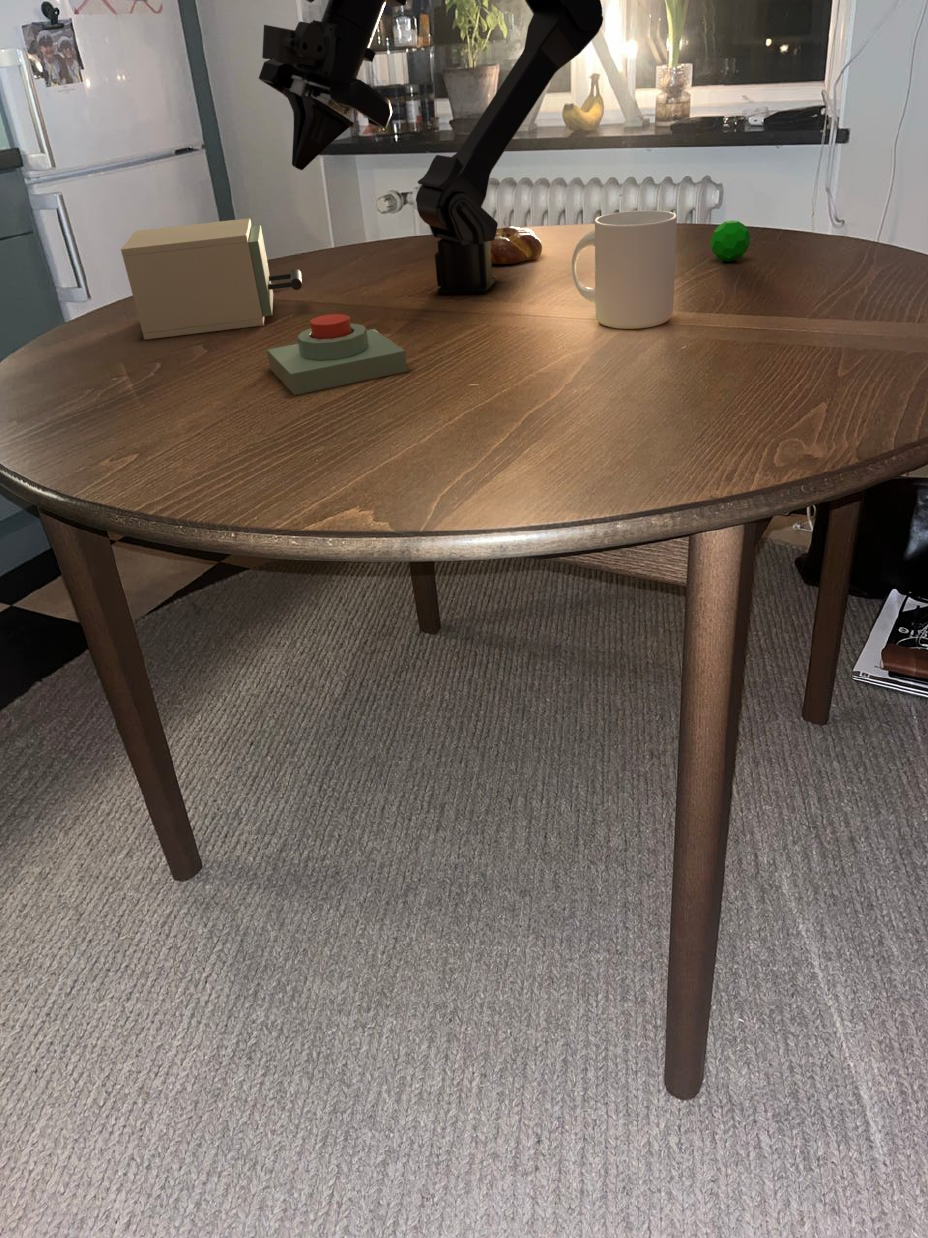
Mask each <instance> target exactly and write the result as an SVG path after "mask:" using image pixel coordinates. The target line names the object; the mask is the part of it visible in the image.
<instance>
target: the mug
mask: <svg viewBox="0 0 928 1238" xmlns="http://www.w3.org/2000/svg"><path fill="white" fill-rule="evenodd" d="M677 221H678V215H677V214H676V213H675V212H672V211H667V210H658V209H638V210H624V211H618V212H617V211H616V212H612V213H611V212H610V213H607V214H604V215H600V216H598V217H596V218H595V219H594V229H593V230H591V231H589V232H587V233H586V234H585V235H584V236H583V237H581V239H580V240H579V241H578V242H577V244H576V246H575V248H574V250H573V254H572V258H571V268H572V269H571V271H572V277H573V282H574V286H575V288H576V290H577V291H578V293H579V294H580V295H581V297H582V298H584V299H585V300H586V301H588V302H590V303H592V304H594V310H595V318H596V320H597V322H598V323H599V324H601V325H603V326H605V327H607V328H608V327H609V328H613V329H619V330H620V329H622V330H638V329H647V328H652V327H655V326H659V325H662V324H665V323H667V322H668V321H669V320H670V319H671V317H672V316H673V312H674V305H675V303H674V301H675V281H676V280H675V278H676V277H675V275H676V253H677V252H676V250H677V249H676V248H677V223H678V222H677ZM592 247H594V287H588V286H586V285H584V284H583V283H582V282H581V280H580V279H579V277H578V273H577V262H578V259H579V256H580V255H581V254H582V253H583V252H584V250H586V249H589V248H592Z"/></svg>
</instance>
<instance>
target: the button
mask: <svg viewBox="0 0 928 1238" xmlns="http://www.w3.org/2000/svg"><path fill="white" fill-rule="evenodd" d="M350 323H351V319H350V316H349V315H347V314H343V313H332V314H324V315H320V316H317V317H314V318H312V319H310V321H309V324H310V328H311V331H312V337H313V338H314V339H333V338H339V337H344V336H347V335H349V334H351V333H352V332H351V325H350Z"/></svg>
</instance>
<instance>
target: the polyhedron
mask: <svg viewBox="0 0 928 1238" xmlns="http://www.w3.org/2000/svg"><path fill="white" fill-rule="evenodd" d="M750 242H751V235H750V232H749V230H748V228H747V227H746V225H745V224H743V223H742V222H740V221H739V220H727V221H724V222H722V223H721V224H719V225H718V226H717V227H716V228H715V229H714V231H713V232H712V235H711V237H710V248H711V250H712V253H713V254H714V256H715V257H716V258H717V259H719V260H721V261H723V262H733V261H737V260H739V259H740V258H742V257H743V256H744V255H745V253H746V252H747V251H748V249H749V247H750Z"/></svg>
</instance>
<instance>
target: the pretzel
mask: <svg viewBox="0 0 928 1238" xmlns="http://www.w3.org/2000/svg"><path fill="white" fill-rule="evenodd" d="M490 248H491V264H492V265H511V264H512V265H513V264H519V263H522V262H525V261H527V260H528V261H530V260H535V259H538V257H540V256H541V254H542V252H543V245H542V242H541V240H540V238H538V237H537V236H536V234H535V232H534V231H533V230H532V229H530V228H526V227H525V228H520V227H516V226H514V225H512V226H505V227H502V228H500V229H499V230H498V231H496V235H495V239H494V240H493V241H490Z"/></svg>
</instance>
